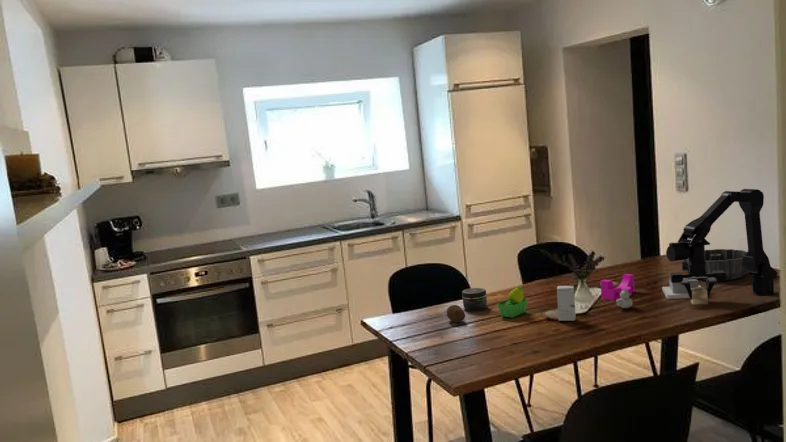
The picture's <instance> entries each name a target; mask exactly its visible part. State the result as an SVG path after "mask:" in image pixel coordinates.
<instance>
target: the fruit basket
mask: <svg viewBox="0 0 786 442" xmlns="http://www.w3.org/2000/svg"><path fill="white" fill-rule="evenodd" d="M508 296H509V298H508V299H505V300H503V301H501V302H498V303H496V306H497V308H498V311H499V313H500V316H501V317H505V318H512V319H513V318H515V317H517V316H519V315H522V314H525V312H526V310H527V304H528V301H529V299H528V298H527V299H526V298H525V297H524V290H523V287H522V286H517V285H516V287H515V288H513V289H512V290H511V291H510V292H509V293H508Z"/></svg>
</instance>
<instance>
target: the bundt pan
mask: <svg viewBox="0 0 786 442" xmlns="http://www.w3.org/2000/svg"><path fill="white" fill-rule="evenodd" d="M747 252H748V251H746V250H743V249H732V248H731V249H729V248H728V249H726V248H722V249H721V248H717V249H716V248H715V249H705V263H706V274H707V273H712V271H717V270H723V271H724V272H725V273H726V274H727V281H731V280H736V279H741V278H742V277H744V276H745V275H746V274H748V271H747V270H746V269H745V267H744V266H743V258H742V256H745V255H746V254H747ZM683 262H687V264H688V259H686V260H683ZM687 274H689V273H687ZM695 277H696V276H695ZM702 277H703V276H702ZM702 280H703V281H705V280H706V279H702ZM716 281H717V282H719V281H718V280H716ZM705 282H706V281H705Z"/></svg>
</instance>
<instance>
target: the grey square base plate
mask: <svg viewBox="0 0 786 442" xmlns="http://www.w3.org/2000/svg"><path fill="white" fill-rule="evenodd" d="M668 281H669V286H662V289H661V290H662V292H663V294H664V296H665V297H666V300H675V299H676V300H678V299H690V297H689V295H688V292H687V290H686V288H685V286H684V285H681V284H680V283H671V281H670V279H669V278H668ZM688 282H689V283H690V287H691V288H695V287H701V288H703V287H702V286H701V285H700V284H699V279H688Z"/></svg>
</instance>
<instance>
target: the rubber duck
mask: <svg viewBox="0 0 786 442" xmlns="http://www.w3.org/2000/svg"><path fill="white" fill-rule="evenodd" d="M629 295H630V294H629V293H628V291H627V290H626V289H623V290H622V291H621V293H620V297H621V298H620V299H617V300H615V302H616V306H617V307H621V308H622V309H630V308H631V307H632V306H633V299H632V298H631V297H630V296H629Z"/></svg>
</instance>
